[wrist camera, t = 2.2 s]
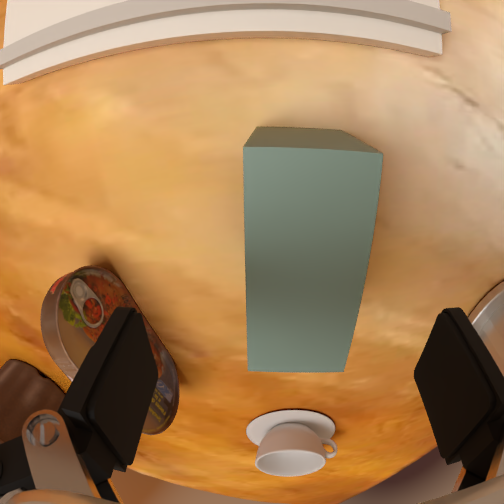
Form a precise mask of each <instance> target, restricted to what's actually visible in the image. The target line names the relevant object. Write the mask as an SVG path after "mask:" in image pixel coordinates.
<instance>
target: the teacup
mask: <svg viewBox="0 0 504 504" xmlns="http://www.w3.org/2000/svg"><path fill="white" fill-rule="evenodd" d="M334 433H335V425H334V423H333V421H332V420H331V419H329V418H328V417H326V416H324V415H322V414H319V413H316V412H311V411H304V410H284V411H277V412H272V413H268V414H265V415H262V416H260V417H258V418H256V419H254V420H253V421H252V422H251V423H250V424H249V425H248V427H247V429H246V434H247V436H248V438H249V439H250V440H251V441H252V442H253V443H255V444H256V445H258V446H259V448H258V451H257V456H256V460H255V465H256V467H257V468H258V469H259V470H260V471H262V472H264V473H267V474H271V475H276V476H300V475H306V474H310V473H313V472H315V471H317V470H319V469H321V468H322V467H323V466H324V465H325V463H326V459H325V458H332V457H334V456H335V455H336V453H337V445H336V443H335V442H334V441H333V440H331V439H330V438H331V437H332V436H333V435H334ZM322 444H327V445H330V446H332V448H333V450H334V451H333V452H331V453H330V452H327V451H326V450H325V449H324V447H323V445H322Z"/></svg>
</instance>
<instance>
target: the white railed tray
mask: <svg viewBox="0 0 504 504" xmlns="http://www.w3.org/2000/svg"><path fill="white" fill-rule="evenodd" d="M448 32H452V31H451V17H450V12H447V11H444V10H441V9H440V4H439V0H8V2H7V10H6V19H5V32H4V48H3V49H1V50H0V69H3V85H10V84H19V83H23V82H25V81H28V80H31V79H33V78H36V77H39V76H41V75H44V74H47V73H50V72H53V71H56V70H59V69H62V68H66V67H69V66H72V65H76V64H79V63H83V62H86V61H90V60H94V59H98V58H102V57H106V56H110V55H114V54H119V53H123V52H128V51H133V50H138V49H144V48H150V47H156V46H162V45H169V44H176V43H184V42H193V41H204V40H216V39H233V38H299V39H316V40H328V41H339V42H348V43H356V44H363V45H370V46H376V47H382V48H388V49H393V50H398V51H403V52H408V53H413V54H417V55H421V56H425V57H431V56H436V55H442V34H444V33H448Z"/></svg>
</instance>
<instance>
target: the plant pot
mask: <svg viewBox="0 0 504 504" xmlns="http://www.w3.org/2000/svg"><path fill="white" fill-rule="evenodd" d="M64 397H65V394H64V393H63V392H62V391H61V390H60V389H59V388H58V386H57V385H55V384H54V383H53V382H52V381H51V380H50V379H48V378H43V377H42V376H41V375H40V374H39V373H38V371H37V369H36V368H34V367H32V366H30V365H28V364H26V363H24V362H22V361H19V360H8V361H7V362H6V363H5V364H4V365H3V366H2V367H1V369H0V444H2V443H4V442H7V441H9V440H12V439H14V438H16V437H19V436H21V435H22V429H23V425H24V423H25V421H26V420H27V418H28V417H29V416H30V415H31V414H33V413H35V412H37V411H39V410H44V409H46V410H52V411H55V412H57V411H58V409H59V407H60V405H61V403H62V401H63V399H64Z"/></svg>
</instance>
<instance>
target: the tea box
mask: <svg viewBox="0 0 504 504" xmlns="http://www.w3.org/2000/svg"><path fill="white" fill-rule="evenodd" d="M382 162H383V153H381V152H379V151H378V150H376V149H374V148H373V147H371V146H369V145H367V144H366V143H364V142H362V141H360V140H359V139H357V138H355V137H353V136H351V135H349V134H348V133H346V132H344V131H342V130H332V129H315V128H292V127H256V129H255V130H254V132H253V133H252V134H251V136H250V137H249V139H248V140H247V142H246V143H245V145H244V146H243V171H244V225H245V273H246V316H247V356H248V371H263V372H344V368H345V365H346V361H347V357H348V353H349V350H350V346H351V342H352V338H353V334H354V330H355V325H356V321H357V317H358V312H359V308H360V303H361V299H362V294H363V289H364V284H365V279H366V274H367V269H368V263H369V258H370V252H371V246H372V240H373V234H374V227H375V220H376V213H377V206H378V198H379V190H380V182H381V172H382Z"/></svg>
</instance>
